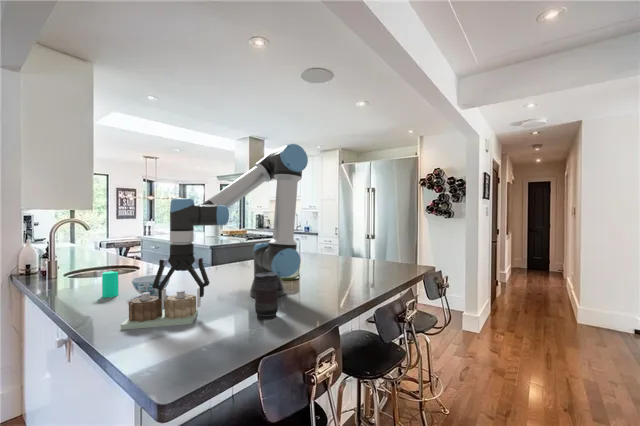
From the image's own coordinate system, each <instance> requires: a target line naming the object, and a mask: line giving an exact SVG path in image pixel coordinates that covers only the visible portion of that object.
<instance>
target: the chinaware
mask: <svg viewBox="0 0 640 426" xmlns="http://www.w3.org/2000/svg"><path fill="white" fill-rule="evenodd" d="M156 275H157V274H153V275H143V276H137V277H134V278H132V279H131V284H132V286H133V288H134V290H135V291H136V292H137V293H139V294H140V295H141V294H142V293H146V292H150V296H158V289H156V288H152V286H153V283H154V280H155V277H156ZM166 275H167V274H162V276H161V279H160V281H159V285H160V284H161V283H162V281H163V280H164V278H165V277H166ZM170 280H171V277H170V278H169V280H168V281H167V283H166V284H165V286H164V287H163V289H164V288H166V289H167V286H168V285H169V282H170Z"/></svg>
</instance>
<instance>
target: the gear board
mask: <svg viewBox="0 0 640 426" xmlns="http://www.w3.org/2000/svg"><path fill="white" fill-rule="evenodd" d="M185 294H186V291H185V290H177V291H176V295H177V299H179V298H185ZM140 297H141V301H147V300H150V292H146V293H142V294H140ZM198 309H199V307H198V308H197V307H196V312H195V315H193V316H187V317H186V318H175V319H170V318H169V317H166V318H165V310H162V316H161V317H157V318H156V319H155V320H147V321H144V322H139V321H133V322H131V321H130V319H129V317H128V318H126V319H125V321H123V322H122V323H121V324H120V330H133V329H134V330H135V329H146V328H157V327H172V326H173V327H174V326H186V325H193V322H194V321H195V319H196V317H197V315H198V311H199V310H198Z"/></svg>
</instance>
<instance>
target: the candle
mask: <svg viewBox="0 0 640 426" xmlns="http://www.w3.org/2000/svg"><path fill="white" fill-rule="evenodd" d="M111 270H112V269H111V268H110V269H109V271H105V272H102V273H101V275H102V276H101V278H102V279H101V285H102V286H101V288H102V289H101V290H102V291H101V293H102V298H104V299H105V298H107V297H109V298H113V297H114V296H115V297H117V296H119V272H118V271H111Z"/></svg>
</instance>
